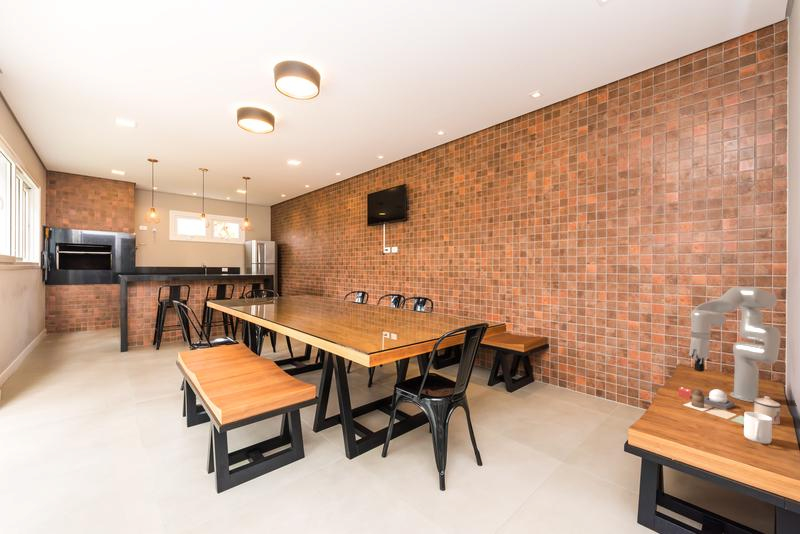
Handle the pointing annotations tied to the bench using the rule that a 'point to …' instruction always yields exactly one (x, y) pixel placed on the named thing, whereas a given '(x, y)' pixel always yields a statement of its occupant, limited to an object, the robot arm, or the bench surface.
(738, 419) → the game board
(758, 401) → the teacup with lid
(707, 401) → the dome housing
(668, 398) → the bench surface
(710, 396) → the dome
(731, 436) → the bench surface
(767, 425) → the cup
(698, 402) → the pawn
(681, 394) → the red die
